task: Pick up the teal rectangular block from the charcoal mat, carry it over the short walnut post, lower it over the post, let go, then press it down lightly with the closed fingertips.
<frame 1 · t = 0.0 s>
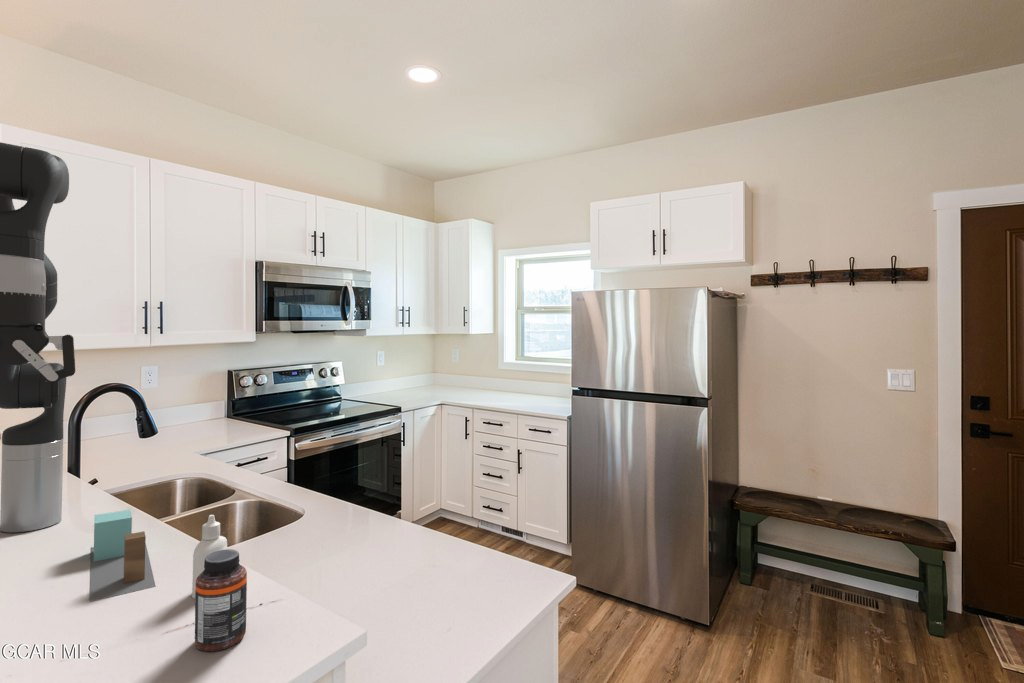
hand: (5, 409, 70), 29 cm above the counter, tool pointing down, fingers open, 8 cm apart
supplement bottle: (220, 641, 67), on the counter
mat: (120, 567, 87), on the counter
post: (134, 578, 83), resting on mat
eye dropper bottle: (209, 593, 80), on the counter
teal rectangular block: (112, 552, 92), resting on mat
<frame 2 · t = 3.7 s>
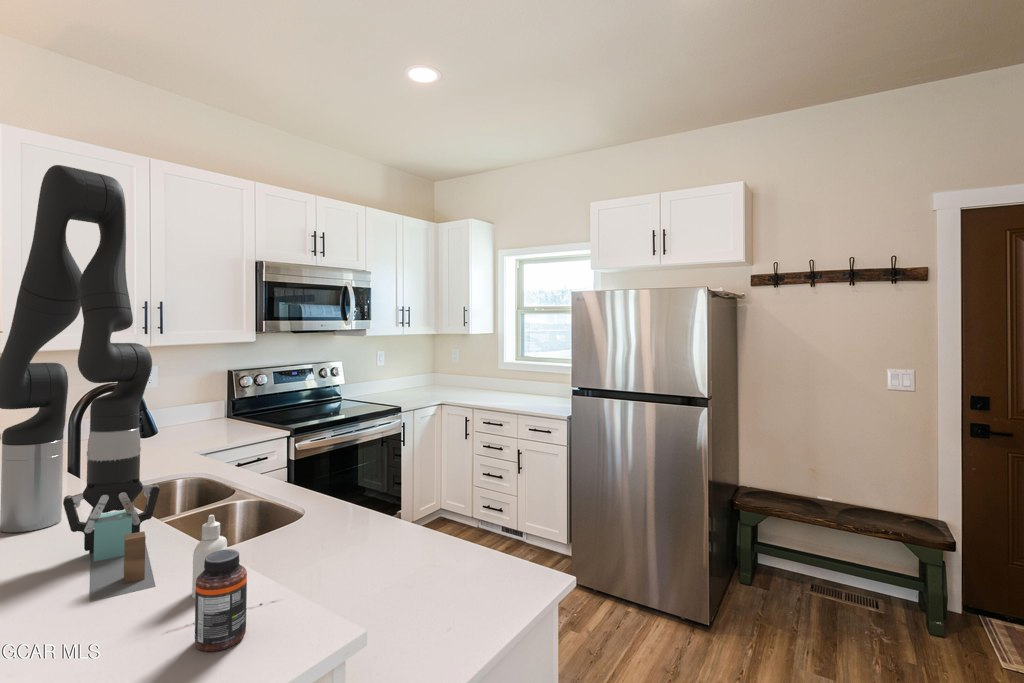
hand: (112, 547, 92), 1 cm above the counter, tool pointing down, fingers closed on teal rectangular block, 5 cm apart
teal rectangular block: (112, 552, 92), resting on mat, touching gripper
everything else where it was.
when the fingers open (4 cm above the counter, at t = 8.7 s): teal rectangular block drops 2 cm, resting on post.
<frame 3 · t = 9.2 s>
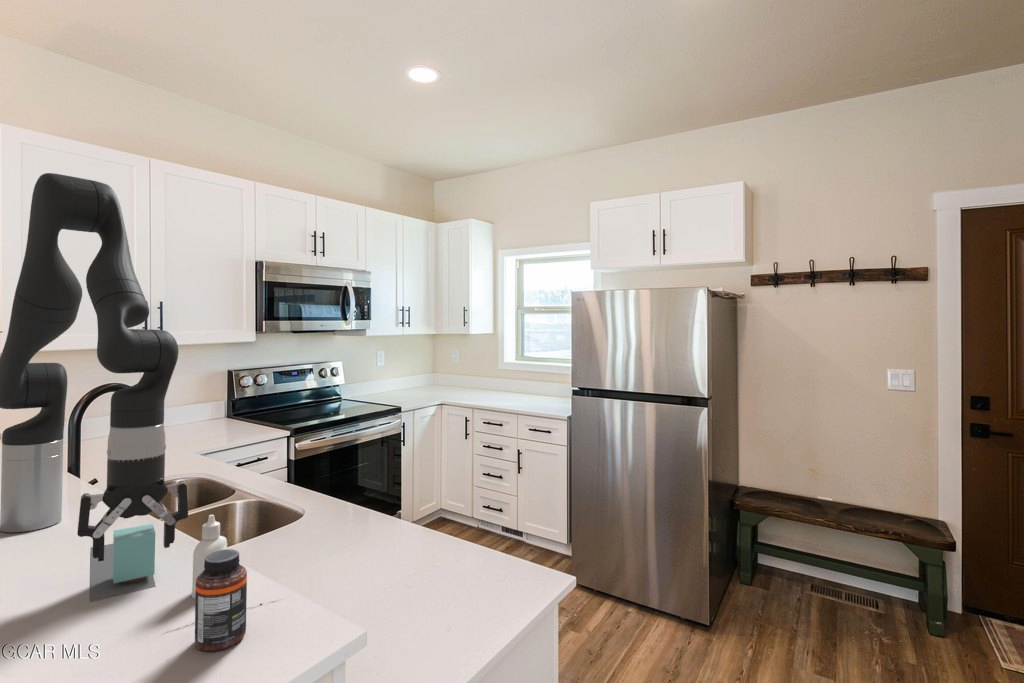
hand: (134, 552, 82), 5 cm above the counter, tool pointing down, fingers open, 8 cm apart
teal rectangular block: (133, 572, 82), point 1 cm above the counter, touching post
everything else where it was.
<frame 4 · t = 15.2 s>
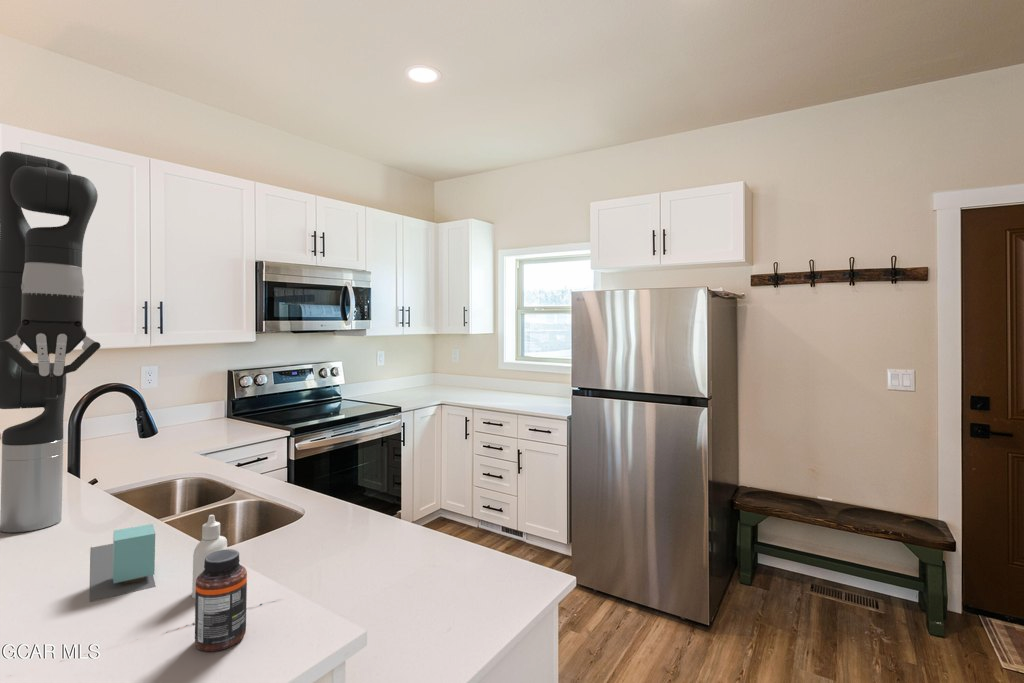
hand: (51, 398, 84), 29 cm above the counter, tool pointing down, fingers closed
nothing on the counter moved.
at the end: teal rectangular block 0.1 cm from the post (horizontally); teal rectangular block point 1.4 cm above the counter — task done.
